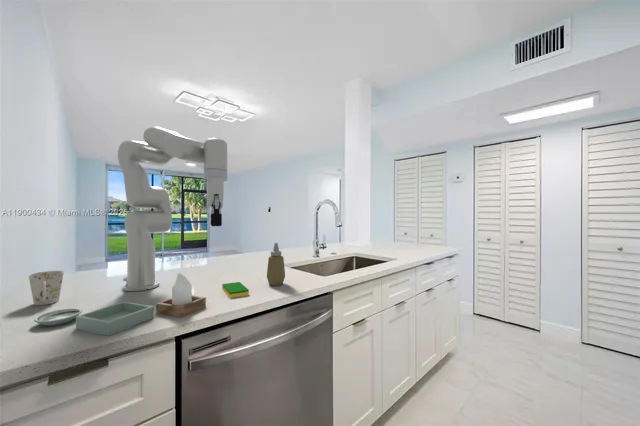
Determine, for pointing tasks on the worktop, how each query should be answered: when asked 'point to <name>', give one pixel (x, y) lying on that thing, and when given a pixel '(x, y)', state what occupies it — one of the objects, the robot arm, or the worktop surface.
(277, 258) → the squeeze bottle
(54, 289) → the mug
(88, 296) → the worktop surface
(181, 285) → the white tall block
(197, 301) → the shallow wooden box
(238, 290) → the dish sponge
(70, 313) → the saucer
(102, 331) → the tray
